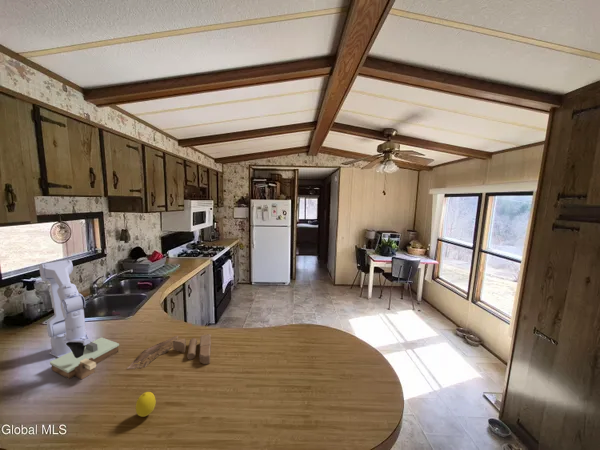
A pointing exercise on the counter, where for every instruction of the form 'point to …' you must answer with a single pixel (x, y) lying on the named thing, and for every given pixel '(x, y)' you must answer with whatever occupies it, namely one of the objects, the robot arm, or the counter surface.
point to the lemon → (145, 404)
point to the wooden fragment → (152, 353)
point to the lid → (84, 354)
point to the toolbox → (82, 371)
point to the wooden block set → (204, 348)
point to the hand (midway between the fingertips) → (79, 356)
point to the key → (88, 364)
